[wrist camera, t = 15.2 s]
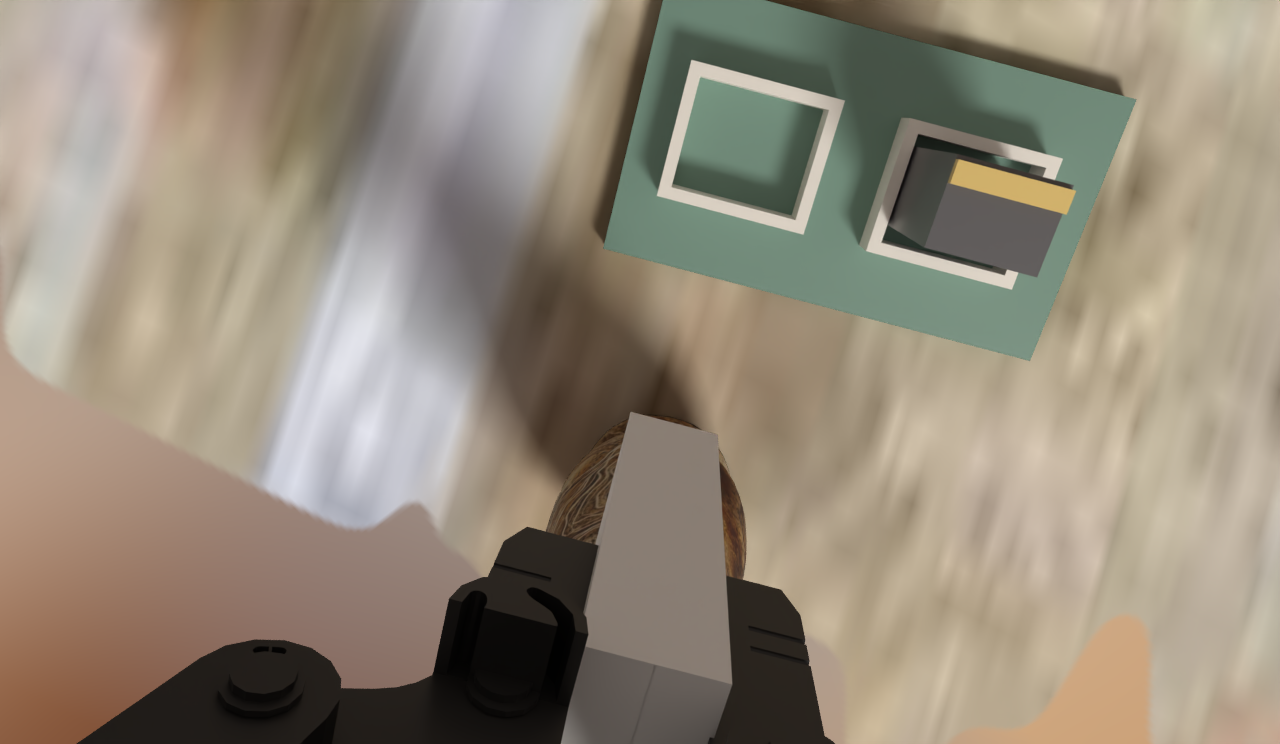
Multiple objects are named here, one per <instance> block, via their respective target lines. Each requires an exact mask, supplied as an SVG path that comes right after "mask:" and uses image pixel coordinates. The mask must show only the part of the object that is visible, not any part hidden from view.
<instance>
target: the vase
mask: <svg viewBox="0 0 1280 744" xmlns="http://www.w3.org/2000/svg"><path fill="white" fill-rule="evenodd" d="M645 416H649V417H653V418H657V419H660V420H664V421H668V422H672V423H676V424H680V425H683V426H687V427H691V428H695V429H698V428H697V427H695V426H694V425H691V424H689V423H686V422H684V421H681V420H678V419H675V418H671V417H664V416H654V415H645ZM628 420H629V419H628ZM628 420H625V421H623V422H622V423H620V424H618V425H616V426H614V427H613V428H611V429H610V430H609V431H608V432H606V433H605V434H604V436H603V437H602V438H601V439H600V440H599V441H598V442H597V443H596V445H595V446H594V447H593V449H592V451H591V452H590V453H588V454H587V455H586V456H585V457H584V458H583V459H582V460H581V461H580V462H579V464H578V465H577V466H576V467H575V468H574V469H573V471H572V472H571V474H570V475H569V477H568V479H567V480H566V482H565V483H564V485H563V488H562V490H561V492H560V494H559V496H558V498H557V500H556V502H555V505H554V508H553V511H552V514H551V516H550V520H549V523H548V526H547V529H546V532H549V533H553V534H557V535H561V536H564V537H568V538H572V539H576V540H580V541H584V542H588V543H591V544H596V540H597V536H598V532H599V529H600V525H601V521H602V517H603V514H604V510H605V506H606V502H607V499H608V495H609V491H610V487H611V483H612V480H613V476H614V472H615V468H616V465H617V461H618V457H619V453H620V450H621V446H622V442H623V438H624V435H625V431H626V427H627V423H628ZM719 466H720V483H721V500H722V518H723V535H724V552H725V569H726V576H730V577H734V578H737V579H741V580H743V576H744V570H745V563H746V543H747V539H746V524H745V517H744V512H743V507H742V504H741V500H740V497H739V494H738V491H737V489H736V486H735V484H734V482H733V480H732V478H731V477H730V473H729V470H728V467H727V465H726V462H725V460H724V458H723V455H722V454H721V452H720V450H719Z"/></svg>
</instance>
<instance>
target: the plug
mask: <svg viewBox="0 0 1280 744" xmlns="http://www.w3.org/2000/svg"><path fill="white" fill-rule="evenodd" d="M1073 187H1074V185H1072V184H1068V183H1064V182H1060V181H1057V180H1053V179H1049V178H1045V177H1042V176H1038V175H1034V174H1031V173H1027V172H1023V171H1019V170H1016V169H1012V168H1008V167H1004V166H1001V165H997V164H993V163H990V162H986V161H982V160H978V159H975V158H971V157H967V156H963V155H960V154H955V153H949V152H943V151H938V150H932V149H926V148H920V147H914V148H913V151H912V154H911V157H910V160H909V163H908V165H907V168H906V171H905V174H904V177H903V180H902V183H901V186H900V189H899V192H898V195H897V198H896V201H895V204H894V207H893V210H892V213H891V216H890V219H889V222H888V226H890V227H892V228H893V229H895V230H897V231H898V232H900V233H901V234H903V235H905V236H906V237H908V238H910V239H911V240H913V241H915V242H916V243H918V244H919V245H921V246H923V247H924V248H928V249H932V250H936V251H939V252H943V253H947V254H950V255H954V256H958V257H962V258H965V259H969V260H973V261H977V262H980V263H984V264H988V265H992V266H995V267H999V268H1003V269H1007V270H1010V271H1014V272H1018V273H1022V274H1025V275H1029V276H1033V277H1038V274H1039V272H1040V269H1041V267H1042V264H1043V262H1044V259H1045V257H1046V254H1047V252H1048V249H1049V247H1050V244H1051V242H1052V239H1053V237H1054V234H1055V232H1056V229H1057V227H1058V224H1059V222H1060V219H1061V217H1062V214H1066V215H1067V213H1068V210H1069V208H1070V205H1071V203H1072V200H1073V198H1074V195H1075V193H1076V191H1075V190H1072V189H1073Z"/></svg>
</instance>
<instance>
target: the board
mask: <svg viewBox="0 0 1280 744" xmlns="http://www.w3.org/2000/svg"><path fill="white" fill-rule="evenodd" d="M1135 102H1136V99H1133V98H1129V97H1125V96H1121V95H1118V94H1114V93H1110V92H1106V91H1103V90H1099V89H1095V88H1091V87H1088V86H1084V85H1080V84H1076V83H1073V82H1069V81H1065V80H1062V79H1058V78H1054V77H1050V76H1047V75H1043V74H1039V73H1035V72H1032V71H1028V70H1024V69H1020V68H1017V67H1013V66H1009V65H1005V64H1002V63H998V62H994V61H990V60H987V59H983V58H979V57H976V56H972V55H968V54H964V53H961V52H957V51H953V50H949V49H946V48H942V47H938V46H934V45H931V44H927V43H923V42H919V41H916V40H912V39H908V38H904V37H901V36H897V35H893V34H890V33H886V32H882V31H878V30H875V29H871V28H867V27H863V26H860V25H856V24H852V23H848V22H845V21H841V20H837V19H833V18H830V17H826V16H822V15H818V14H815V13H811V12H807V11H804V10H800V9H796V8H792V7H789V6H785V5H781V4H777V3H774V2H770V1H766V0H663V2H662V7H661V11H660V15H659V19H658V23H657V27H656V31H655V36H654V40H653V44H652V48H651V52H650V56H649V60H648V65H647V69H646V73H645V77H644V81H643V85H642V90H641V94H640V98H639V102H638V106H637V110H636V114H635V119H634V123H633V127H632V131H631V135H630V139H629V143H628V148H627V152H626V156H625V160H624V164H623V168H622V173H621V177H620V181H619V185H618V189H617V193H616V197H615V202H614V206H613V210H612V214H611V218H610V222H609V226H608V231H607V235H606V239H605V243H604V247H603V249H607V250H611V251H615V252H618V253H622V254H626V255H630V256H634V257H637V258H641V259H645V260H649V261H653V262H656V263H660V264H664V265H668V266H671V267H675V268H679V269H683V270H687V271H690V272H694V273H698V274H702V275H706V276H709V277H713V278H717V279H721V280H725V281H728V282H732V283H736V284H740V285H744V286H747V287H751V288H755V289H759V290H763V291H766V292H770V293H774V294H778V295H782V296H785V297H789V298H793V299H797V300H801V301H804V302H808V303H812V304H816V305H820V306H823V307H827V308H831V309H835V310H839V311H842V312H846V313H850V314H854V315H857V316H861V317H865V318H869V319H873V320H876V321H880V322H884V323H888V324H892V325H895V326H899V327H903V328H907V329H911V330H914V331H918V332H922V333H926V334H930V335H933V336H937V337H941V338H945V339H949V340H952V341H956V342H960V343H964V344H968V345H971V346H975V347H979V348H983V349H987V350H990V351H994V352H998V353H1002V354H1006V355H1009V356H1013V357H1017V358H1021V359H1024V360H1028V361H1030V359H1031V357H1032V354H1033V352H1034V350H1035V347H1036V345H1037V342H1038V340H1039V337H1040V335H1041V332H1042V330H1043V327H1044V325H1045V323H1046V320H1047V318H1048V315H1049V313H1050V310H1051V308H1052V305H1053V303H1054V301H1055V298H1056V296H1057V293H1058V291H1059V288H1060V286H1061V283H1062V281H1063V279H1064V276H1065V274H1066V271H1067V269H1068V266H1069V264H1070V261H1071V259H1072V256H1073V254H1074V252H1075V249H1076V247H1077V244H1078V242H1079V239H1080V237H1081V234H1082V232H1083V230H1084V227H1085V225H1086V222H1087V220H1088V217H1089V215H1090V212H1091V210H1092V208H1093V205H1094V203H1095V200H1096V198H1097V195H1098V193H1099V190H1100V188H1101V185H1102V183H1103V181H1104V178H1105V176H1106V173H1107V171H1108V168H1109V166H1110V163H1111V161H1112V159H1113V156H1114V154H1115V151H1116V149H1117V146H1118V144H1119V141H1120V139H1121V137H1122V134H1123V132H1124V129H1125V127H1126V124H1127V122H1128V119H1129V117H1130V114H1131V112H1132V110H1133V107H1134V105H1135ZM914 147H920V148H926V149H932V150H938V151H943V152H949V153H955V154H960V155H963V156H967V157H971V158H975V159H978V160H982V161H986V162H990V163H993V164H997V165H1001V166H1004V167H1008V168H1012V169H1016V170H1019V171H1023V172H1027V173H1031V174H1034V175H1038V176H1042V177H1045V178H1049V179H1053V180H1057V181H1060V182H1064V183H1068V184H1072V185H1074V187H1073V189H1072V190H1075V191H1076V193H1075V195H1074V198H1073V200H1072V203H1071V205H1070V208H1069V210H1068V213H1067V215H1066V214H1062V217H1061V219H1060V222H1059V224H1058V227H1057V229H1056V232H1055V234H1054V237H1053V239H1052V242H1051V244H1050V247H1049V249H1048V252H1047V254H1046V257H1045V259H1044V262H1043V264H1042V267H1041V269H1040V272H1039V274H1038V277H1033V276H1029V275H1025V274H1022V273H1018V272H1014V271H1010V270H1007V269H1003V268H999V267H995V266H992V265H988V264H984V263H980V262H977V261H973V260H969V259H965V258H962V257H958V256H954V255H950V254H947V253H943V252H939V251H936V250H932V249H928V248H924V247H923V246H921V245H919V244H918V243H916V242H915V241H913V240H911V239H910V238H908V237H906V236H905V235H903V234H901V233H900V232H898V231H897V230H895V229H893V228H892V227H890V226H888V222H889V219H890V216H891V213H892V210H893V207H894V204H895V201H896V198H897V195H898V192H899V189H900V186H901V183H902V180H903V177H904V174H905V171H906V168H907V165H908V163H909V160H910V157H911V154H912V151H913V148H914Z"/></svg>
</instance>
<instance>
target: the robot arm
mask: <svg viewBox="0 0 1280 744" xmlns="http://www.w3.org/2000/svg"><path fill="white" fill-rule="evenodd" d="M804 644H805V636H804V631H803V626H802V621H801V616H800V614H799V613H798V611H797V610H796V609H795V607H794V606H793V605H792V604H791V602H790V601H789V600H788V598H787V597H786V596H785V594H784V593H783V592H782V590H780V589H776V588H772V587H768V586H764V585H761V584H757V583H753V582H749V581H745V580H741V579H737V578H734V577H730V576H726V569H725V552H724V535H723V518H722V500H721V483H720V466H719V449H718V434H714V433H710V432H706V431H703V430H699V429H695V428H691V427H687V426H683V425H680V424H676V423H672V422H668V421H664V420H660V419H657V418H653V417H649V416H645V415H641V414H638V413H634V412H630V416H629V420H628V423H627V427H626V431H625V435H624V438H623V442H622V446H621V450H620V453H619V457H618V461H617V465H616V468H615V472H614V476H613V480H612V483H611V487H610V491H609V495H608V499H607V502H606V506H605V510H604V514H603V517H602V521H601V525H600V529H599V532H598V536H597V540H596V544H591V543H588V542H584V541H580V540H576V539H572V538H568V537H564V536H561V535H557V534H553V533H549V532H545V531H541V530H537V529H534V528H530V527H526V528H524V529H523V530H521V531H520V532H518V533H516V534H515V535H513V536H512V537H510V538H508V539H507V540H505V541H504V542H503V544H502V547H501V549H500V551H499V553H498V556H497V558H496V560H495V562H494V566H493V567H492V569H491V571H490V573H489V576H488V577H482V578H479V579H477V580H474V581H472V582H469V583H467V584H464V585H462V586H461V587H460V588H459V589H458V590H457V591H456V592H455V593H454V594H453V595H452V596H451V597H450V598H449V602H448V607H447V611H446V616H445V621H444V626H443V630H442V634H441V639H440V644H439V649H438V653H437V659H436V663H435V668H434V672H433V675H432V676H429V677H427V678H425V679H423V680H421V681H419V682H416V683H413V684H408V685H405V686H400V687H396V688H381V689H346V688H344V689H343V688H341V678H340V676H339V674H338V673H337V671H336V670H335V668H334V666H333V664H332V663H331V661H330V660H328V659H327V658H325V657H324V656H322V655H321V654H319V653H318V652H316V651H315V650H313V649H312V648H309V647H306V646H302V645H299V644H296V643H292V642H289V641H285V640H251V641H246V642H241V643H236V644H231V645H226V646H224V647H222V648H220V649H218V650H216V651H214V652H212V653H210V654H207V655H206V656H203V657H201V658H199V659H198V660H197V661H195V662H194V663H192V664H191V665H189V666H188V667H187V668H185V669H184V670H182V671H181V672H179V673H178V674H176V675H175V676H174V677H172V678H171V679H169V680H168V681H166V682H165V683H164V684H162V685H161V686H159V687H158V688H156V689H155V690H153V691H152V692H150V693H149V694H148V695H146V696H145V697H143V698H142V699H140V700H139V701H138V702H136V703H135V704H133V705H132V706H130V707H129V708H127V709H126V710H125V711H123V712H122V713H120V714H119V715H117V716H116V717H114V718H113V719H112V720H110V721H109V722H107V723H106V724H104V725H103V726H101V727H100V728H99V729H97V730H96V731H94V732H93V733H92V734H90V735H89V736H87V737H86V738H84V739H83V740H81V741H80V742H78V743H77V744H835V743H834V742H833V741H831V740H830V739H828V738H827V737H825V736H824V731H823V726H822V721H821V716H820V712H819V706H818V701H817V696H816V691H815V686H814V681H813V676H812V671H811V667H810V666H809V656H808V652H807V646H806V645H804Z"/></svg>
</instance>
